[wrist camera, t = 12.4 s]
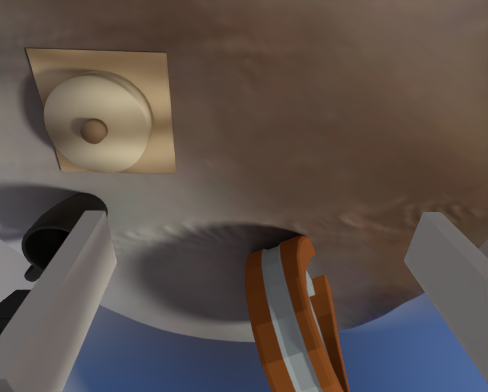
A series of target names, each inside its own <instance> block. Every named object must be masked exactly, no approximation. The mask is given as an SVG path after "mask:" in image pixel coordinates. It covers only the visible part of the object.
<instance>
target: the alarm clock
mask: <svg viewBox="0 0 488 392" xmlns="http://www.w3.org/2000/svg"><path fill="white" fill-rule="evenodd" d="M315 254H316V253H315V251H314V249H313V246H312V244H311V242H310V239H309V237H307V236H297V237H294V238H291V239H288V240H286V241H283V242H280V244H279V246H277V247H274V248H272V249H269V250H267V249H261V250H258V251H256V252H253V253H251V254H250V255H249V256H248V258H247V259H246V267H245V286H246V298H247V304H248V309H249V315H250V321H251V326H252V331H253V335H254V339H255V342H256V346H257V350H258V354H259V358H260V361H261V365H262V368H263V370H264V373H265V375H266V378H267V381H268V383H269V386H270V389H271V391H272V392H350V390H349V385H348V381H347V376H346V371H345V367H344V362H343V357H342V352H341V348H340V342H339V336H338V330H337V324H336V318H335V312H334V306H333V300H332V293H331V288H330V286H329V284H328V281H327V279H326V277H325V275H323V276H320V277H317V278H314V279H310V277H309V275H308V273H307V267H308V263H309V260H310V259H311V257H312V256H314V255H315Z"/></svg>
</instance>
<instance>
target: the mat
mask: <svg viewBox="0 0 488 392" xmlns="http://www.w3.org/2000/svg"><path fill="white" fill-rule="evenodd" d="M26 50H27V54H28V57H29V60H30V64H31V67H32V71H33V74H34V78H35V81H36V85H37V88H38V91H39V95H40V98H41V102H42V105H43V109H44V108H45V104H46V101H47V99H48V97H49V95H50V93H51V92H52V91H53V90H54V89H55V88H56V87H57V86H58V85H60V84H61V83H63V82H65V81H67V80H69V79H71V78H73V77H75V76H77V75H80V74H82V73H85V72H88V71H98V70H100V71H108V72H112V73H115V74H118V75H120V76H122V77H124V78H126V79H127V80H129V81H131V82H132V83H133V84H134V85H135V86H137V87H138V88H139V89H140V91H141V92H142V93H143V94H144V96H145V97H146V99H147V100H148V102H149V104H150V106H151V109H152V112H153V117H154V131H153V135H152V137H151V140H150V142H149V143H148V145H147V147H146V149H145V150H144V152H143V154H142V156H141V157H140V158H139V160H138V161H137V162H136V163H135V164H133V165H132V166H130V167H129V168H127V169H125V170H122V171H119V172H122V173H176V164H175V152H174V140H173V128H172V116H171V103H170V91H169V79H168V67H167V55H166V52H137V51H107V50H77V49H47V48H26ZM54 147H55V145H54ZM55 150H56V154H57V157H58V160H59V164H60V167H61V171H62V172H93V171H90V170H87V169H84V168H82V167H80V166H78V165H76V164H74V163H73V162H71V161H70V160H68V159H67V158H66V157H65V156H63V155H62V154H61V153H60V152H59V150H58V149H57V148H56V147H55Z"/></svg>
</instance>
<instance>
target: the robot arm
mask: <svg viewBox="0 0 488 392" xmlns="http://www.w3.org/2000/svg"><path fill="white" fill-rule="evenodd" d="M404 262H405V264H406V265H407V267H408V268H409V269H410V271H411V272H412V274H413V275H414V277H415V278H416V280H417V281H418V283H419V284H420V285H421V287H422V288H423V290H424V291H425V293H426V294H427V296H428V297H429V298H430V300H431V301H432V303H433V304H434V306H435V307H436V309H437V310H438V311H439V313H440V314H441V316H442V317H443V319H444V320H445V322H446V323H447V324H448V326H449V327H450V329H451V330H452V332H453V333H454V335H455V336H456V337H457V339H458V341H459V342H460V344H461V345H462V346H463V348H464V349H465V351H466V352H467V354H468V355H469V357H470V358H471V359H472V361H473V362H474V364H475V365H476V367H477V368H478V369H479V371H480V372H481V374H482V375H483V377H484V378H485V380H486V381H487V383H488V258H487V257H486V256H485V255H484V254H483V253H482V252H481V251H480V250H479V249H478V248H477V247H476V246H475V245H474V244H473V243H472V242H471V241H470V240H468V239H467V238H466V237H465V236H464V235H463V234H462V233H461V232H460V231H459V230H458V229H457V228H456V227H455V226H454V225H453V224H452V223H451V222H450V221H449V220H448V219H447V218H446V217H445V216H444V215H443V214H442V213H441V212H423V214H422V216H421V219H420V221H419V224H418V226H417V229H416V231H415V234H414V236H413V239H412V241H411V244H410V246H409V249H408V252H407V254H406V257H405V259H404ZM116 263H117V261H116V256H115V252H114V248H113V243H112V239H111V234H110V230H109V226H108V221H107V217H106V212H105V211H85V212H84V213H83V215H82V216H81V218H80V219H79V221H78V222H77V224H76V225H75V227H74V228H73V229H72V231H71V232H70V234H69V235H68V237H67V238H66V240H65V241H64V243H63V244H62V246H61V247H60V249H59V250H58V251H57V253H56V254H55V256H54V257H53V259H52V260H51V262H50V263H49V265H48V266H47V268H46V269H45V270H44V272H43V273H42V275H41V276H40V278H39V279H38V281H37V282H36V284H35V285H34V287H33V288H32V289H31V290H16V291H14V292H13V293H12V294H10V295H9V296H8V297H7V298H5V299H4V300H3V301H2V302H0V392H62V390H63V388H64V386H65V384H66V381H67V379H68V376H69V374H70V372H71V369H72V367H73V365H74V362H75V360H76V358H77V355H78V353H79V350H80V348H81V346H82V343H83V341H84V339H85V336H86V334H87V332H88V329H89V327H90V325H91V322H92V320H93V318H94V315H95V313H96V311H97V308H98V306H99V303H100V301H101V299H102V296H103V294H104V292H105V289H106V287H107V285H108V282H109V280H110V278H111V275H112V273H113V270H114V268H115V266H116Z"/></svg>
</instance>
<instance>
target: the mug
mask: <svg viewBox="0 0 488 392" xmlns="http://www.w3.org/2000/svg"><path fill="white" fill-rule="evenodd" d="M85 211H105V212H106V217H107V214H108V211H107V207H106V205H105V204H104V202H103V201H102V200H101V199H100V198H98V197H96V196H94V195H92V194H88V193H79V194H76V195H74V196H72V197H70V198H68V199H66V200H64V201H62V202H60V203H59V204H57V205H55V206H54V207H53V208H51V209H50V210H48V211H47V212H46V213H44V214H43V215H42V216H41V217H40V218H39V219H38V220H37V221H36V222H35V223H34V225H33V226H32V227H31V228H30V229H29V230H28V232H27V233H26V234H25V235H24V237H23V240H22V251H23V254H24V256H25V257H26V259H27V260H28V261H29V262H30V263H31V264H32V265H31V266H30V267H29V269H28V270H27V271H26V273H25V275H24V277H25V279H26V280H28V281H30V282H34V281H36V280H37V279H39V278H40V276H41V275H42V273H43V272H44V270H45V269H46V268H47V266H48V265H49V263H50V262H51V260H52V259H53V257H54V256H55V254H56V253H57V251H58V250H59V249H60V247H61V246H62V244H63V243H64V241H65V240H66V238H67V237H68V235H69V234H70V232H71V231H72V229H73V228H74V227H75V225H76V224H77V222H78V221H79V219H80V218H81V216H82V215H83V213H84V212H85Z"/></svg>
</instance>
